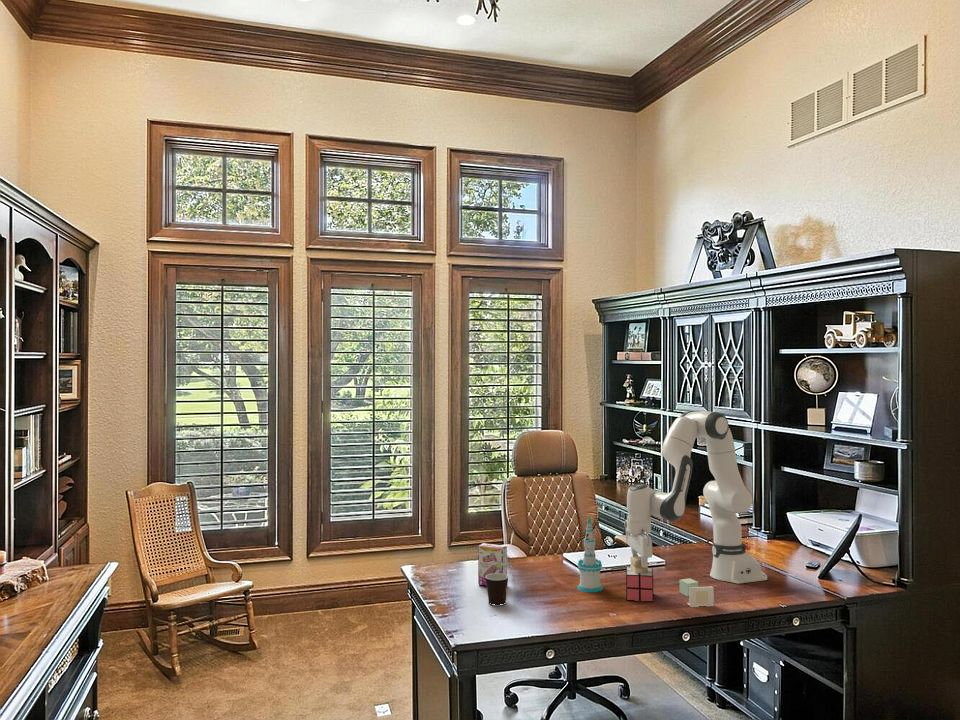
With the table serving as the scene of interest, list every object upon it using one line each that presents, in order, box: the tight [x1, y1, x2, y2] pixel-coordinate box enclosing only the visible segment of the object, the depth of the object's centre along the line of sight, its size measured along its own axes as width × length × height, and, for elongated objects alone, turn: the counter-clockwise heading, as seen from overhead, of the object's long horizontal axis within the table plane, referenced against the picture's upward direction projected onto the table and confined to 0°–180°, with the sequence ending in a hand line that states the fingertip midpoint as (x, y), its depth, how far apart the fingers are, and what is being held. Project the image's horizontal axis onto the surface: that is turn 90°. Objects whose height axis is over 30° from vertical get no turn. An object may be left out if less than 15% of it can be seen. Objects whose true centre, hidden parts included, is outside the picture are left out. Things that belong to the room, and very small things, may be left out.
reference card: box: [686, 585, 715, 608], centre depth 262 cm, size 9×3×7 cm, turn 96°
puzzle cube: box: [625, 566, 654, 602], centre depth 272 cm, size 10×10×10 cm
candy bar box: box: [477, 542, 508, 587], centre depth 288 cm, size 11×5×16 cm, turn 65°
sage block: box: [678, 578, 699, 597], centre depth 275 cm, size 5×5×5 cm
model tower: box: [577, 513, 604, 593], centre depth 283 cm, size 10×10×30 cm
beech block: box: [630, 555, 649, 574], centre depth 272 cm, size 5×5×5 cm
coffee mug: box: [486, 573, 509, 605], centre depth 269 cm, size 12×9×10 cm
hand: (639, 562), depth 272 cm, fingers open, 8 cm apart
